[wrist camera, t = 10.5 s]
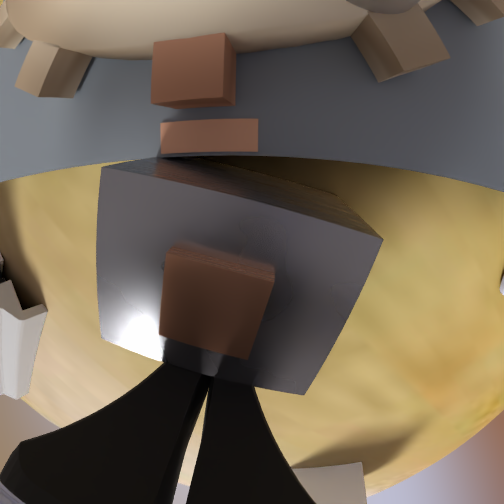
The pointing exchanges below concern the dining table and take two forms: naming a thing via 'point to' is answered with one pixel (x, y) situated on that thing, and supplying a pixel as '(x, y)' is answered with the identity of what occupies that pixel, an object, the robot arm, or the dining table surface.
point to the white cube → (334, 483)
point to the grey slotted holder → (17, 340)
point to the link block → (227, 269)
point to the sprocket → (214, 39)
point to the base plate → (279, 110)
